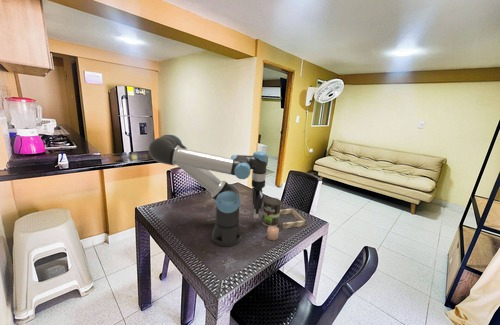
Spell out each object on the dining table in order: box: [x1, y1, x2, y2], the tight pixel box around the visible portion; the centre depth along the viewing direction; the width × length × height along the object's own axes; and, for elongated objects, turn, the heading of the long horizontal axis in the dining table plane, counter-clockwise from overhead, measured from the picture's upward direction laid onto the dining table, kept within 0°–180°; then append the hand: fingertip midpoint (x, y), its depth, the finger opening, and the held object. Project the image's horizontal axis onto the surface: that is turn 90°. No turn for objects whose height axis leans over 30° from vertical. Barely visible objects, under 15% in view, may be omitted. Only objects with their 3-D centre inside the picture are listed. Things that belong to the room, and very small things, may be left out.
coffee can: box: [261, 196, 282, 227], centre depth 124 cm, size 10×10×14 cm
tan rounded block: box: [266, 226, 280, 241], centre depth 111 cm, size 6×6×5 cm
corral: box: [280, 208, 307, 230], centre depth 130 cm, size 15×16×3 cm
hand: (255, 217), depth 122 cm, fingers closed
